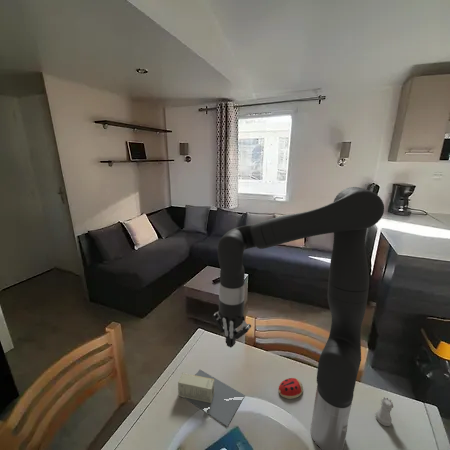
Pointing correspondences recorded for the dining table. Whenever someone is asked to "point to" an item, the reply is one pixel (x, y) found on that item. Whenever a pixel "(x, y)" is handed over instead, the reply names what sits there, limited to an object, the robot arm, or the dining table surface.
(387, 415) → the rook chess piece
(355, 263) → the robot arm
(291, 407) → the dining table surface
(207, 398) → the skincare box
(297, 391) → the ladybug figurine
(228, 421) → the mat
